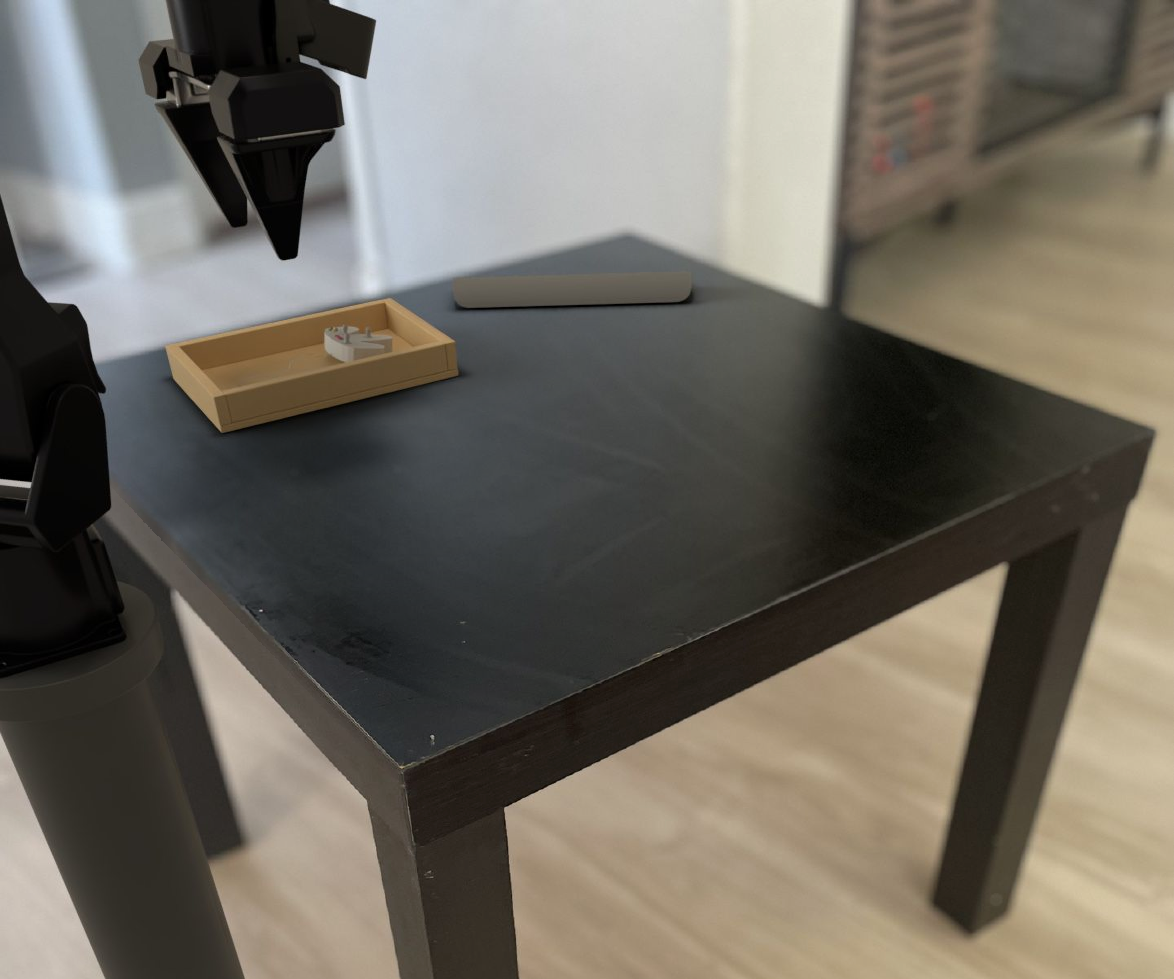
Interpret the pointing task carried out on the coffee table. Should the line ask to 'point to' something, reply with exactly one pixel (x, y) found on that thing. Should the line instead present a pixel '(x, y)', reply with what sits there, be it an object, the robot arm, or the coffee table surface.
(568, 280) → the gray half cylinder
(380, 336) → the game controller
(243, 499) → the coffee table surface
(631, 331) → the coffee table surface
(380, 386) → the serving tray
